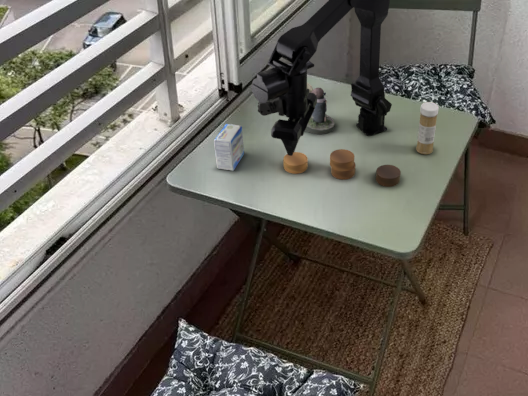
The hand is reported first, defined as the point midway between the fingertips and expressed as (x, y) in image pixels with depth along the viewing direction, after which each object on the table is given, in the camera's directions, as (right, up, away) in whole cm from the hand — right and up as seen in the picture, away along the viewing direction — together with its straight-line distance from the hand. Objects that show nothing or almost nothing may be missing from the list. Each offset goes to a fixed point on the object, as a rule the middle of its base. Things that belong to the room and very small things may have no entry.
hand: (295, 145), depth 167 cm
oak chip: (0, -5, +4) cm, 7 cm away
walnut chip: (+23, -8, +1) cm, 24 cm away
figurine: (+4, +7, +20) cm, 21 cm away
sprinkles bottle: (+33, -1, +13) cm, 35 cm away
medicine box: (-17, -4, +4) cm, 18 cm away
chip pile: (+12, -7, +3) cm, 14 cm away
